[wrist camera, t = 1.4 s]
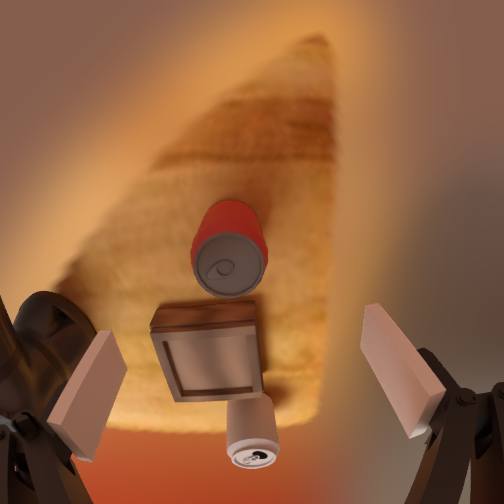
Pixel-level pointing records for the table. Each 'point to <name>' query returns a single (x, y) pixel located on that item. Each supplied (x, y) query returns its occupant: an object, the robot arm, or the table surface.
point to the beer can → (229, 250)
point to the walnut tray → (209, 351)
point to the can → (252, 432)
